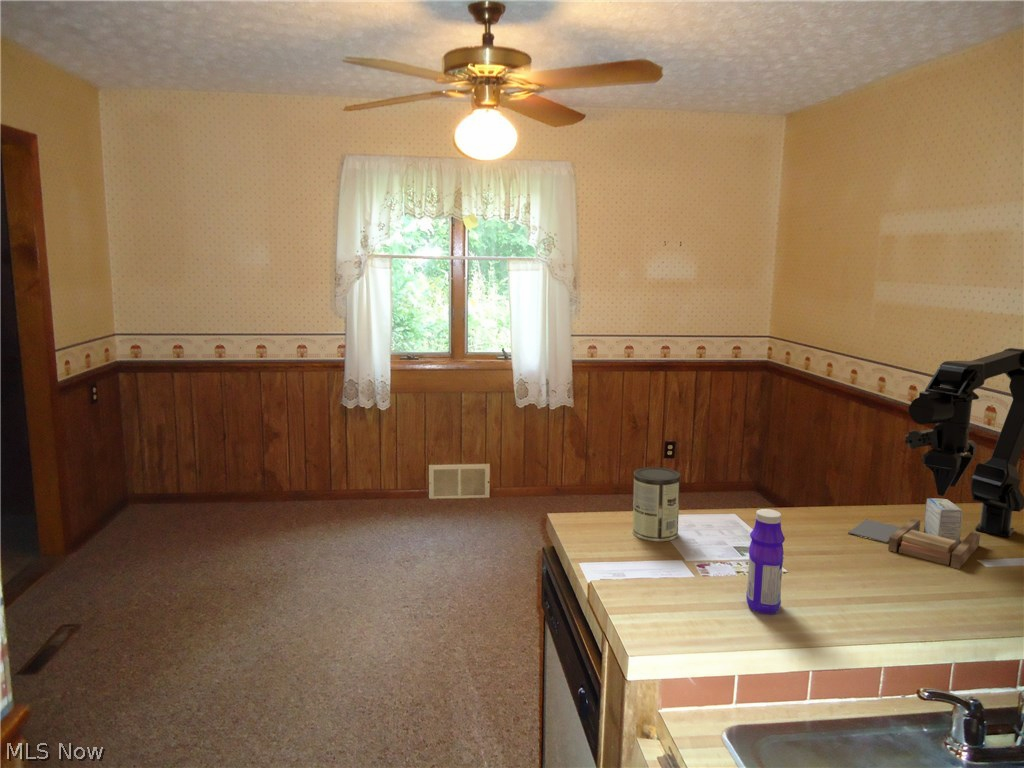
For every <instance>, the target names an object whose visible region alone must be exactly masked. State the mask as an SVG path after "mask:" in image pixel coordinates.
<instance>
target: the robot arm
mask: <svg viewBox="0 0 1024 768" xmlns="http://www.w3.org/2000/svg"><path fill="white" fill-rule="evenodd" d="M1004 374H1005V375H1006V377H1007V378H1008V379H1009V380H1010V381H1009V386H1008V388H1009V391H1010V393H1011V394H1010V395H1011V397H1012V401H1011V404H1010V407H1009V409H1008V412H1007V415H1006V417H1005V419H1004V422H1003V425H1002V428H1001V430H1000V432H999V435H998V438H997V441H996V443H995V447H994V448H993V452H992V454H991V457H990V458H989V459H988V460H987V461H985V462H984V463H982V462H978V463H977V465H976V466H975V469H974V471H973V472H974V473H973V475H972V476H971V481H970V490H971V496H972V501H974V502H979V503H981V513H980V521H979V523H978V524H977V525H976V526H975V528H974V529H975V530H974V531H976V532H981V533H982V532H983V533H987V534H991V535H996V536H1001V537H1005V538H1010V537H1011V536H1012V534H1013V533H1014V532H1015V528H1014V527H1012V520H1013V519H1012V518H1013V512H1016V513H1017V512H1018V513H1019V512H1020V513H1021V511H1022V510H1024V495H1023V493H1022V492H1021V491H1020V488H1019V487H1020V483H1021V478H1020V474H1019V472H1018V468H1017V467H1018V466H1017V465H1018V463H1019V460H1020V457H1021V455H1022V453H1023V450H1024V348H1013V347H1009V348H1006V349H1004V350H1003V351H999V352H996V353H994V354H993V353H992V354H989V355H986V356H982V357H980V358H976V359H973V360H946V361H944V362H942V363H941V364H940V365H939V367H938V368H937V370H936V371H935V373H934V374H933V376H932V378H931V380H930V381H929V382H928V385H927V386H926V388H925V389H924V391H919V394H918V397H916V398H914V399H913V400H912V402H911V403H910V405H909V406H908V415H909V416H910V418H911V420H912V421H913V422H914V423H916V424H918V425H929V424H930V425H931V424H932V425H933V424H935V425H933V428H931V429H930V428H929V429H924V430H919V429H916V430H910V431H909V432H908V434H906V435H905V441H904V442H905V444H908V447H909V450H915V449H917V448H922V447H930V449H929V450H928V451H927V452H925V453H923V454H922V464H923V465H924V466H925V467H926V468H928V469H929V470H930V471H931V472H932V474H933V477H934V483H935V488H936V493H937V495H938V496H941V497H944V496H945V495H946V493H947V491H948V490H949V488H950V487H953V488H954V487H956V485H957V484H958V482H959V481H960V480H961V478H962V476H963V475H964V473H965V471H966V469H968V467H969V466H970V464H971V462H972V461H973V459H974V457H975V455H976V454H977V449H978V444H976V443H975V441H974V440H971V439H969V432H971V431H972V426H973V425H970V424H971V415H972V414H971V413H972V407H973V406H972V405H973V401H976V400H979V399H980V397H979V395H978V394H977V393H976V392H974V391H975V390H977V389H979V388H980V387H983V386H984V385H985V381H986V380H988V379H991V378H994V377H997V376H1000V375H1004ZM968 453H969V454H968Z"/></svg>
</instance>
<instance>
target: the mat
mask: <svg viewBox="0 0 1024 768" xmlns="http://www.w3.org/2000/svg"><path fill="white" fill-rule="evenodd" d="M901 527H902V526H897V525H893V524H889V523H884V522H881V521H877V520H871V519H868V518H866V519H865V520H863V521H862V522H860V523H859V524H857V525H856V526H855V527H853V528H852V529H850V530H849V531H848V532H847V534H848V535H851V534H854V535H853V536H855V535H859V536H862V537H861V538H863V537H867V538H871V539H875V540H879V541H882V542H885V543H884V544H886V543H887V542H888V541H889V537H890V536H891V535H893V534H894V533H895V532H896V531H898V530H899V529H900V528H901ZM859 536H858V537H859ZM867 538H866V539H867ZM871 539H870V540H871ZM882 542H881V543H882ZM888 543H889V542H888ZM888 543H887V544H888Z"/></svg>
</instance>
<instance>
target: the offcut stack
mask: <svg viewBox="0 0 1024 768" xmlns="http://www.w3.org/2000/svg"><path fill="white" fill-rule="evenodd" d="M955 546H956V541H955V540H951V539H947V538H943V537H939V536H935V535H931V534H927V533H924V531H920V530H919V531H915V530H910V531H909V532H907V533H906V534H905V535H903V539H902V542H901V546H900V547H899V550H898V553H900V554H902V553H903V554H902V555H907V556H911V557H915V558H919V559H922V560H927V561H930V562H933V563H938V564H941V565H945V566H951V558H952V552H953V551H954V550H955V549H956V548H955Z"/></svg>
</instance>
